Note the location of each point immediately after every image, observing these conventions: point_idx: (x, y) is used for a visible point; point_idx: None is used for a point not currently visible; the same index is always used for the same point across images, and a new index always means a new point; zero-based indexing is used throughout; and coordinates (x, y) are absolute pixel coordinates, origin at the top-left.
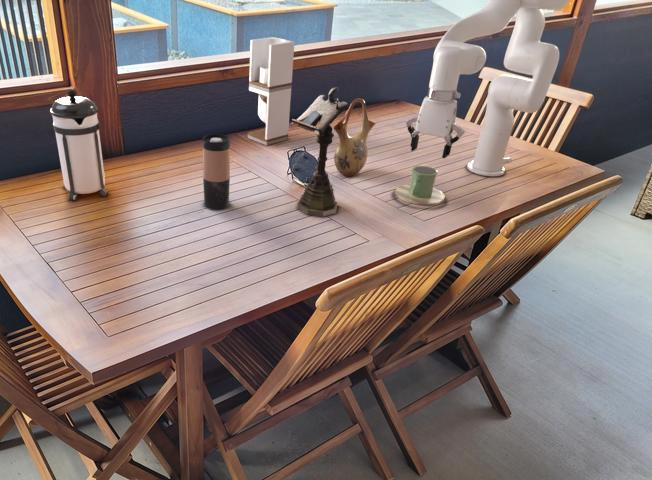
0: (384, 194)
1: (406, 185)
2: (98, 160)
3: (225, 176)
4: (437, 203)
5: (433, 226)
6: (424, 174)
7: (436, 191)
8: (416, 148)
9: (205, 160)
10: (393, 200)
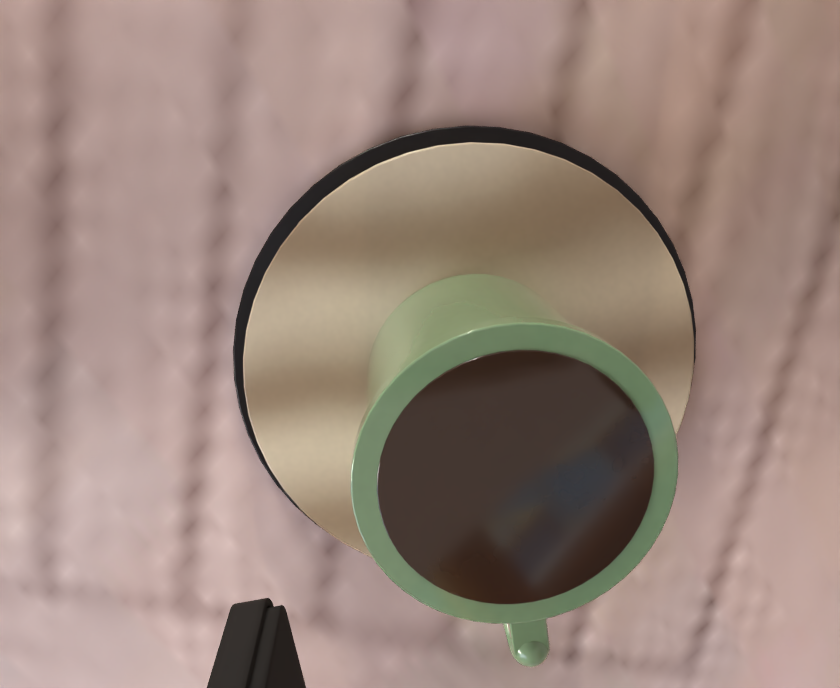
0: (220, 518)
1: (276, 314)
2: None
3: None
4: (675, 425)
5: (771, 683)
6: (577, 596)
7: (562, 215)
8: (288, 626)
9: None
10: (344, 556)
